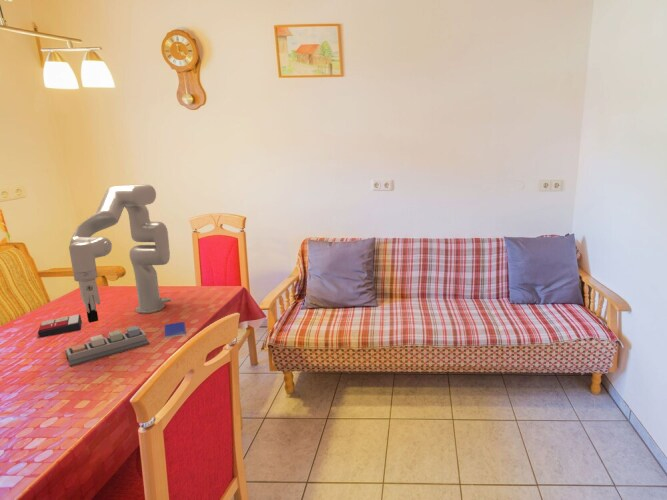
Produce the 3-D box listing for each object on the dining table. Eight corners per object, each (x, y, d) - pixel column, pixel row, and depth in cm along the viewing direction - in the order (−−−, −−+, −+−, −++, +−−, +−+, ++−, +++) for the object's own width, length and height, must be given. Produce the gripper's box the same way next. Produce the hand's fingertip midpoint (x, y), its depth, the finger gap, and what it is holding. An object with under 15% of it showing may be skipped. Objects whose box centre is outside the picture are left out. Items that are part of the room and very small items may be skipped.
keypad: (140, 332, 181) (139, 325, 180) (149, 344, 170) (148, 337, 169) (65, 352, 165) (64, 345, 164) (70, 366, 154) (69, 359, 153)
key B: (84, 349, 164) (83, 343, 163) (86, 353, 161) (85, 347, 160) (72, 352, 162) (71, 346, 161) (74, 356, 158) (72, 350, 158)
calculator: (40, 321, 186) (79, 312, 193) (43, 330, 188) (82, 321, 194) (37, 330, 177) (78, 321, 183) (39, 339, 178) (80, 330, 185)
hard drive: (185, 332, 177) (184, 321, 188) (164, 336, 174) (164, 324, 186) (185, 336, 178) (184, 324, 189) (164, 339, 175) (164, 327, 186)
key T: (137, 331, 175) (136, 325, 174) (140, 334, 172) (139, 328, 171) (127, 333, 173) (126, 328, 172) (129, 337, 170) (128, 331, 169)
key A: (120, 335, 171) (119, 329, 171) (122, 338, 168) (121, 333, 168) (109, 338, 169) (108, 332, 168) (111, 341, 166) (110, 336, 165)
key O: (102, 340, 167) (101, 334, 167) (104, 343, 164) (103, 337, 164) (91, 343, 165) (89, 337, 164) (92, 347, 162) (91, 341, 161)
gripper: (100, 277, 154) (108, 324, 159) (93, 268, 166) (100, 313, 170) (77, 281, 150) (85, 330, 154) (71, 272, 161) (79, 317, 166)
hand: (93, 321), depth 162 cm, fingers closed
